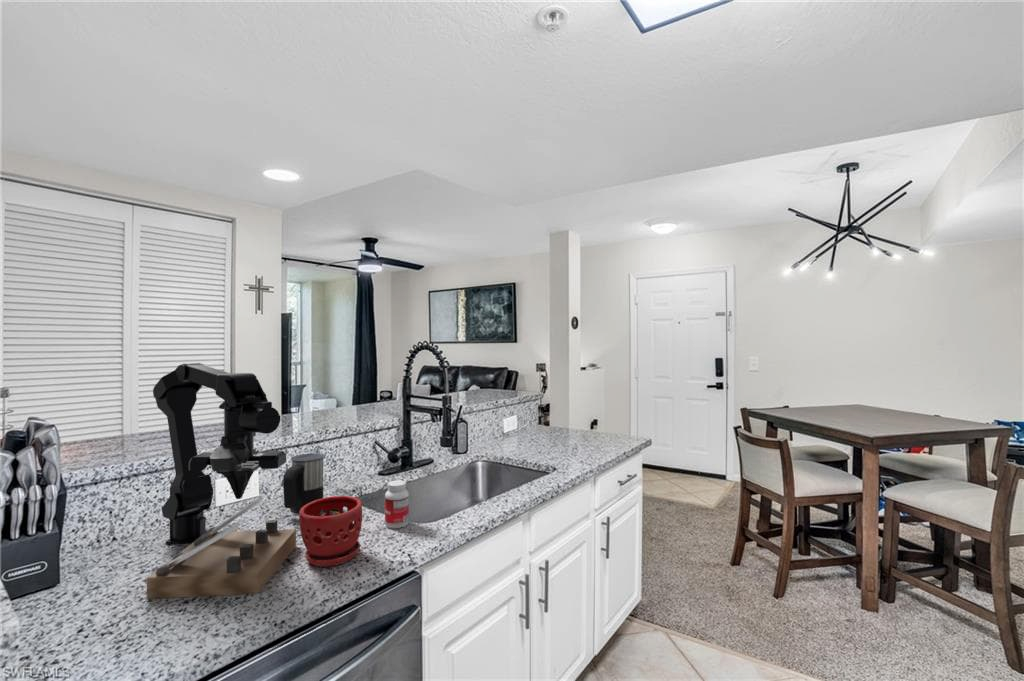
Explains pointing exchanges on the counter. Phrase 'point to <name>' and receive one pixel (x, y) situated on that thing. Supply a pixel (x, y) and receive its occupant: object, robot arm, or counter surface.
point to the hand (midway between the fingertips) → (239, 498)
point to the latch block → (225, 564)
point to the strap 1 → (203, 545)
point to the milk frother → (303, 481)
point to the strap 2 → (233, 517)
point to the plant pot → (331, 530)
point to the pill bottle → (396, 505)
